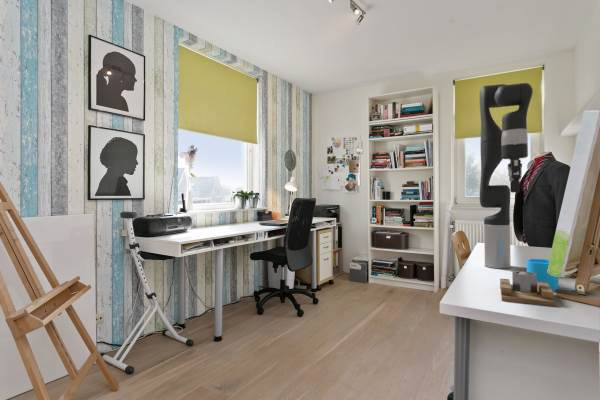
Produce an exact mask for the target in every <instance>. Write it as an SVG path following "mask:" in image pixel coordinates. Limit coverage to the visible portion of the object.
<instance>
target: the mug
mask: <svg viewBox="0 0 600 400" xmlns="http://www.w3.org/2000/svg"><path fill="white" fill-rule="evenodd" d="M549 260H550V259H542V258H530V259H529V258H528V259H527V260H526V272H532V273H536V274H537V282H547V283H548V285H549V286H550V288H551V289H552V291H556V289H558V290H559V286H560V285H559V276H558V277H554V276H551V275H549V274H548V273H547V269H548V265H549Z"/></svg>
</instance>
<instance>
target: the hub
mask: <svg viewBox="0 0 600 400" xmlns="http://www.w3.org/2000/svg"><path fill="white" fill-rule="evenodd" d="M520 272H524V273H530V274H531V275H521V274H518V273H520ZM511 278H512V285H513V291H517V292H520V293H530V294H531V293H537V274H536V273H532V272H527V271H523V270H522V271H521V270H517V271H516V270H515V271H512V277H511Z"/></svg>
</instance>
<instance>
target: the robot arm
mask: <svg viewBox="0 0 600 400" xmlns="http://www.w3.org/2000/svg"><path fill="white" fill-rule="evenodd" d="M532 87H533V86H531V84H530V83H528V82H522V83H521V82H520V83H513V84H504V83H502V84H489V85H483V86H482V87H481V88H480V91H479V110H480V186H479V204H480V206H481V207H482V208H485V209H486V208H488V209H493V208H494V209H495V208H498V209H500V210H499V211H498V212H497V213H494V214H491V215H487V216H486V217H484V219H483V224H484V225H483V228H484V229H483V233H484V235H483V238H484V239H483V240H484V246H483V247H484V266H485V267H488V268H491V269H510V268H511V267H512V266H511V262H512V261H511V260H512V259H511V217H510V215H511V213H510V212H511V211H510V210H511V208H510V206H511V193H520V192H521V180H522V173H523V171H522V169H523V163H522V160H521V159H526V158H528V155H529V150H528V149H529V147H528V145H529V143H528V141H529V139H528V132H527V129H528V128H527V127H528V125H527V117H528V116H527V115H528V110H529V106H530V103H531V101H532V97H533V93H534V92H533V91H534V90H533V88H532ZM515 106H518V109H517V110H515V111H511V112H507V113H505V114H503V115H502V116H501V117H502V118H501V127H500V126H499V125H498V124H497V122H496V121H495V120H494V118H493V116H492V114H491V111H490V110H491V109H493V108H502V107H503V108H505V107H515ZM502 160H509V163H508V164H507V172H508V175H507V177H509V178H508V179H509V180H508V181H509V182H510V183H509V185H507V184H499V185H498V184H495V185H494V184H492V185H490V182H491V181H490V180H491V178H492V176H493V174H494V172H495V171H496V169H497V167H498V166H499V165H500V163H501V162H502ZM509 186H510V187H509Z"/></svg>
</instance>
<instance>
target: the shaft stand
mask: <svg viewBox="0 0 600 400" xmlns="http://www.w3.org/2000/svg"><path fill="white" fill-rule="evenodd" d="M524 272H525V271H524ZM524 272H520V273H518V274H521V275H531V274H530V273H524ZM499 282H500V284H499V288H500V297H501V301H502V302H508V303H520V304H526V305H527V304H530V305H538V306H549V307H555V306H556V301H555V300H554V299H555V295H554V290H552V289H551V288H550V286H549V285H548V283H547V282H537V293H531V294H530V293H520V292H517V291H513V283H512V284H511V282H510V279H509V278H499Z"/></svg>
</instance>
